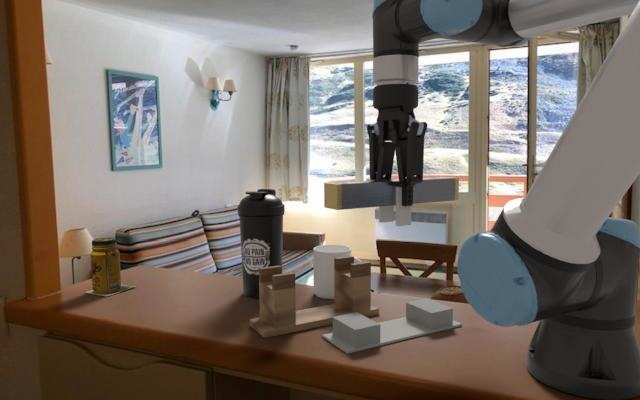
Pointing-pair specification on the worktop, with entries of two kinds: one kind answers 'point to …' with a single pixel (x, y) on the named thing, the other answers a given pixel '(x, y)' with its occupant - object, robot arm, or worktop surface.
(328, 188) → the rail
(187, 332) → the worktop surface
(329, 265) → the mug
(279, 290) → the rack
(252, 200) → the water bottle
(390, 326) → the rest
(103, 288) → the condiment
